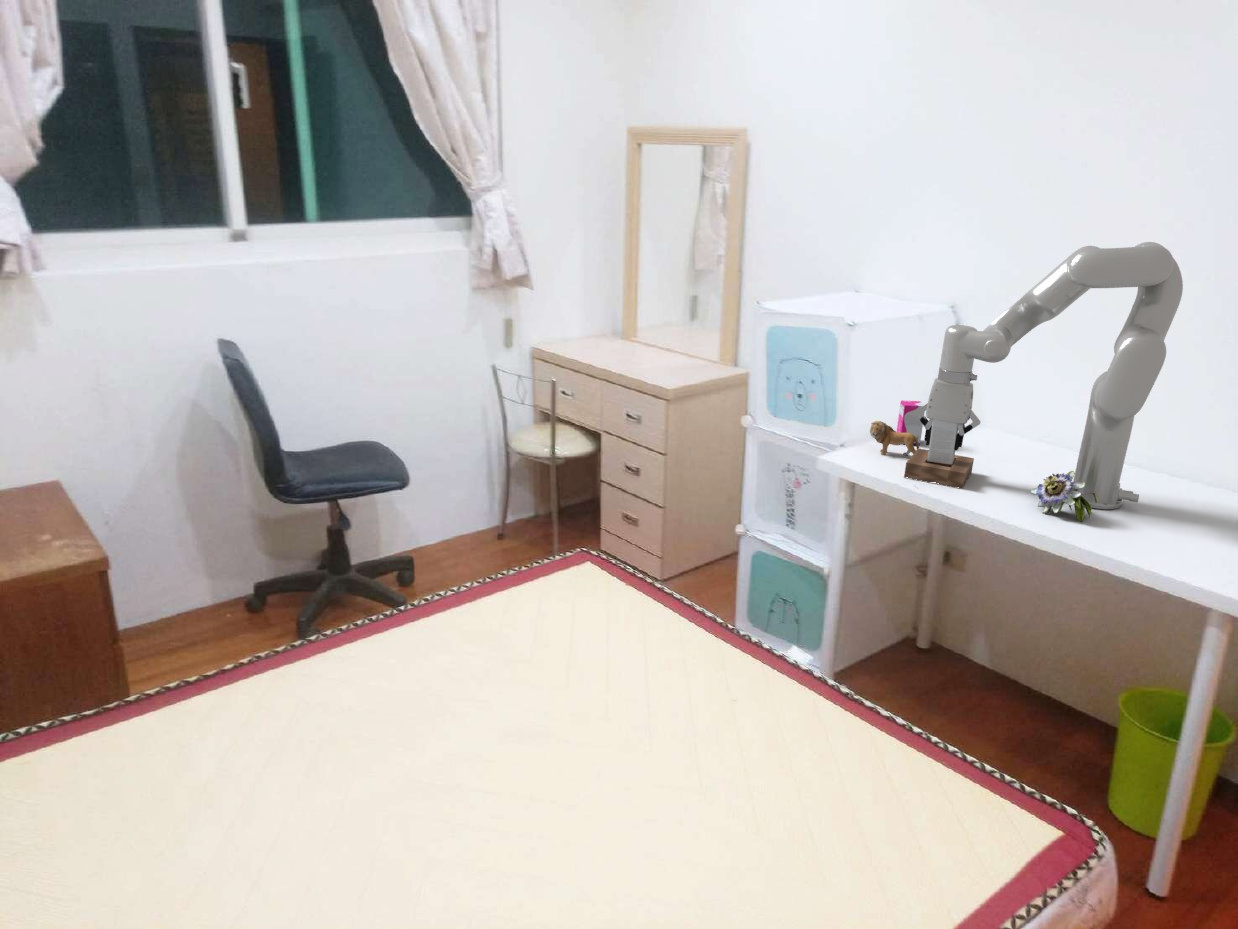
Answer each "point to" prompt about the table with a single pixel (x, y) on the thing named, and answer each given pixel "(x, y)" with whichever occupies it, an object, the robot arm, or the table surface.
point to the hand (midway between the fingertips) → (942, 445)
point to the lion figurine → (892, 437)
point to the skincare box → (942, 442)
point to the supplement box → (910, 419)
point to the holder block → (939, 469)
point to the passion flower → (1062, 494)
